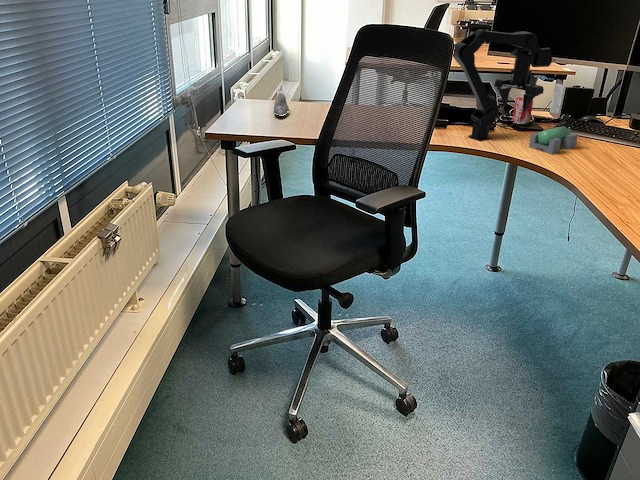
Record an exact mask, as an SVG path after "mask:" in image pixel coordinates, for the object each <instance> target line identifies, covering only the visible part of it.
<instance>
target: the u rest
mask: <svg viewBox="0 0 640 480" xmlns="http://www.w3.org/2000/svg"><path fill="white" fill-rule="evenodd" d="M539 133H540V132H534V133H531V134H530V138H529V139H530V140H529V145H528V148H530V149H534V150H537V151H540V152H543V153H546V154H550V155H555V154H557V153H558V154H559V153H560V152H559V151H560V149H565V150H571V149H575V148H576V145H577V140H578V136H579V135H578V134H577V133H571V134H569V135H567V136H566V139H564V140H561V139H559V138H554V139H550V142H549V144H545V145H542V144H540V143H539V142H538V140H537V136H538V134H539Z"/></svg>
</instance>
